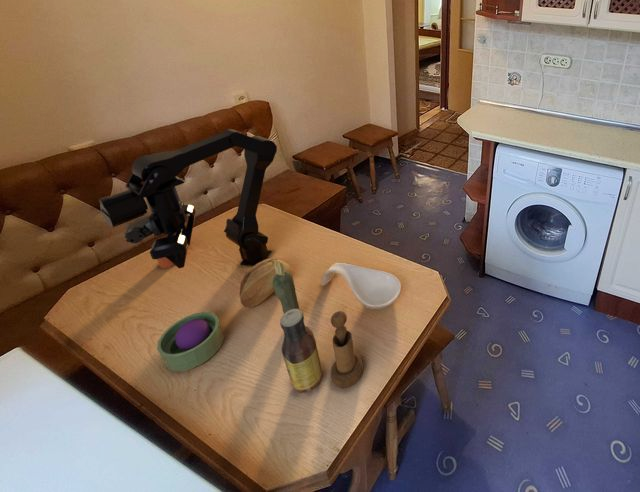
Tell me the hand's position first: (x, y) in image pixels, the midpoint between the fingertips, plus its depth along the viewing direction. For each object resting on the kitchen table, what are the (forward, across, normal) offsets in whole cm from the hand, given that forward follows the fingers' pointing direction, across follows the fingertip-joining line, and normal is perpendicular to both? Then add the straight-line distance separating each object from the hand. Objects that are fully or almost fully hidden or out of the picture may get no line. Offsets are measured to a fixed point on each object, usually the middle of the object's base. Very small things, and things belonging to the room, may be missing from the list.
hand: (184, 256), depth 92 cm
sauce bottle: (+13, +39, +24) cm, 48 cm away
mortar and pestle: (+13, +41, +32) cm, 54 cm away
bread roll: (+13, +7, +17) cm, 22 cm away
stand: (+13, -18, -9) cm, 24 cm away
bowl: (+13, +19, +2) cm, 23 cm away
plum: (+9, +18, +2) cm, 21 cm away
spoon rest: (+13, +20, +39) cm, 46 cm away
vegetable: (+13, +22, +22) cm, 34 cm away
